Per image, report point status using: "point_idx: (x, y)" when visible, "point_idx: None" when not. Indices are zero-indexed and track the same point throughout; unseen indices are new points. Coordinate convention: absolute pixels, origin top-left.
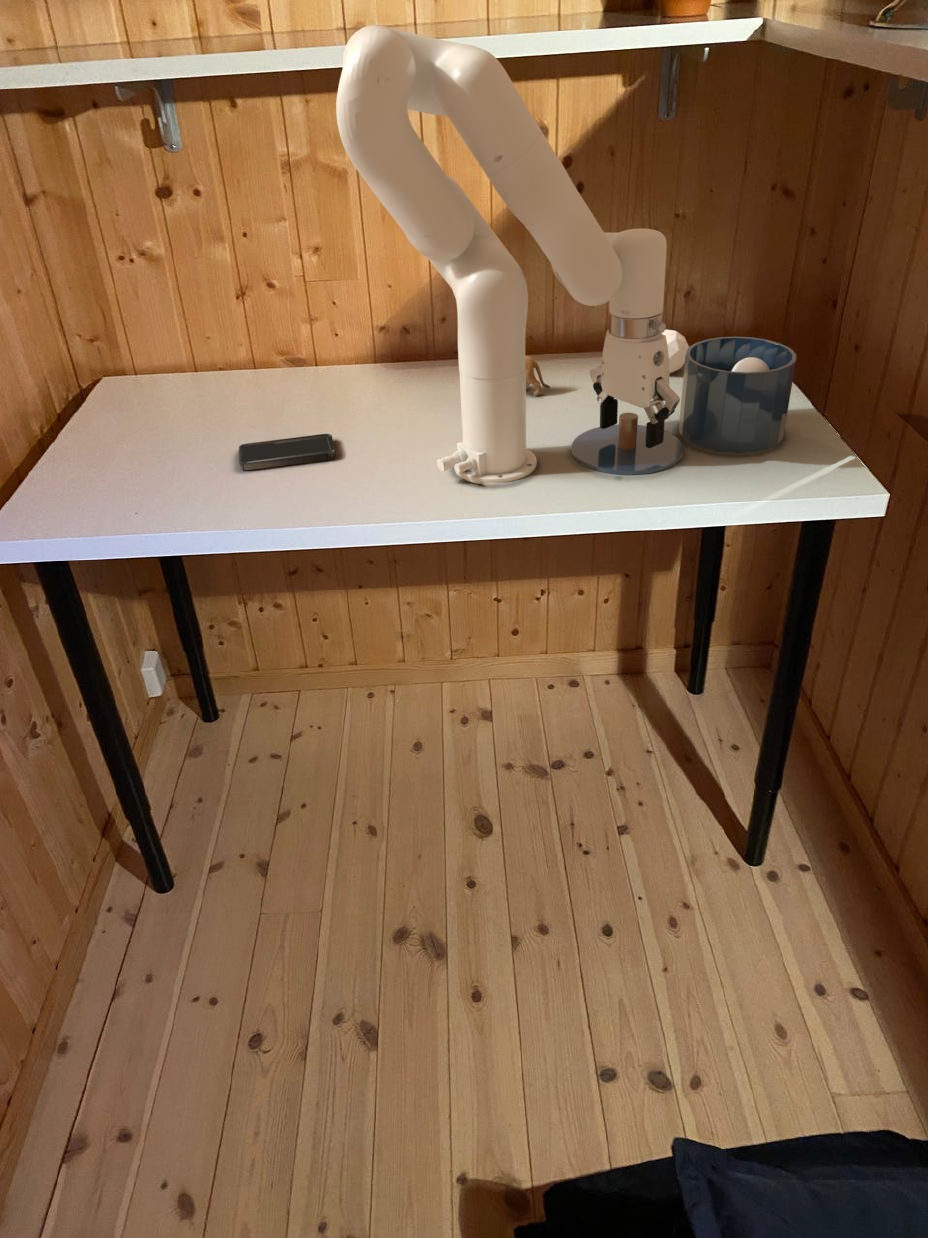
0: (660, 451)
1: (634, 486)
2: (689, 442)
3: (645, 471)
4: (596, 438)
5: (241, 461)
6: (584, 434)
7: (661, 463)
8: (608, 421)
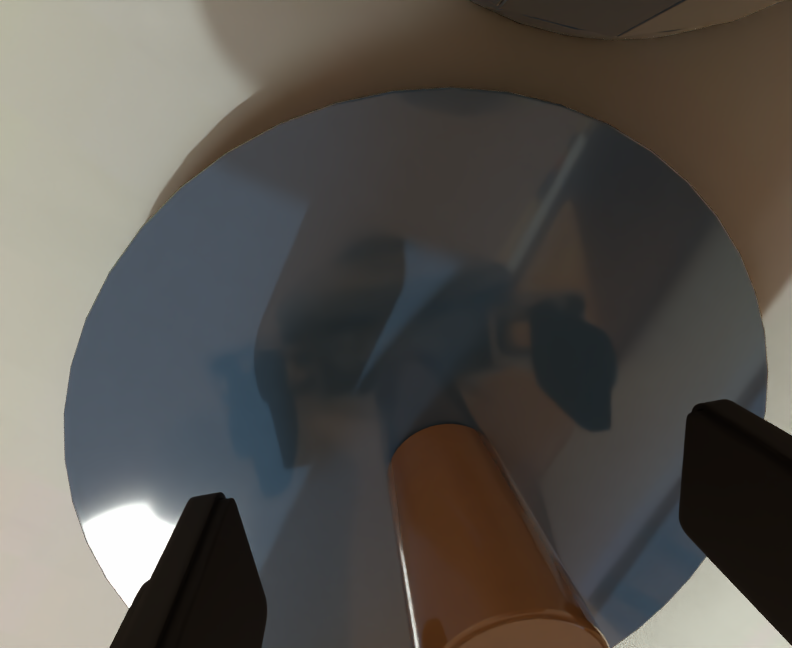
0: (624, 347)
1: (709, 577)
2: (607, 34)
3: None
4: None
5: None
6: None
7: None
8: (249, 614)
